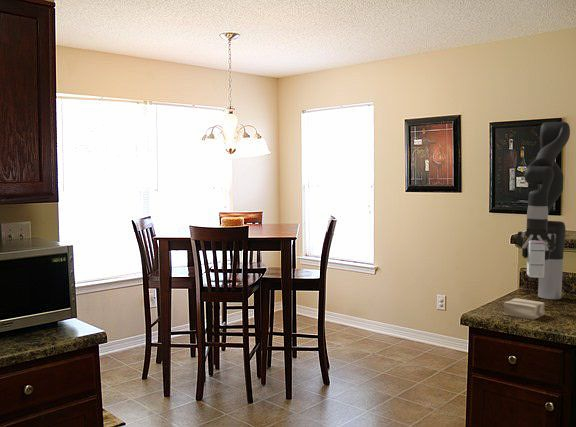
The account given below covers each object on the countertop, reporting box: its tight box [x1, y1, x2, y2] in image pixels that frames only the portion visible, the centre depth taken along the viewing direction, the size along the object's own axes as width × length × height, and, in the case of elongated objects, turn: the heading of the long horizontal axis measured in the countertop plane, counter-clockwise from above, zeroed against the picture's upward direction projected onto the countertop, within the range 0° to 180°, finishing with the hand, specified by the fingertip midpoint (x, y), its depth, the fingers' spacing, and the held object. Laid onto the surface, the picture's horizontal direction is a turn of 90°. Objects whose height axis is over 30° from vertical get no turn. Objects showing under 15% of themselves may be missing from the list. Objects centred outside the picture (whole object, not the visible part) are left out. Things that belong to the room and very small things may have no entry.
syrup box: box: [526, 240, 545, 279], centre depth 229 cm, size 6×6×14 cm
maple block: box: [503, 297, 546, 321], centre depth 221 cm, size 11×11×5 cm
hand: (535, 258), depth 229 cm, fingers closed on syrup box, 7 cm apart
